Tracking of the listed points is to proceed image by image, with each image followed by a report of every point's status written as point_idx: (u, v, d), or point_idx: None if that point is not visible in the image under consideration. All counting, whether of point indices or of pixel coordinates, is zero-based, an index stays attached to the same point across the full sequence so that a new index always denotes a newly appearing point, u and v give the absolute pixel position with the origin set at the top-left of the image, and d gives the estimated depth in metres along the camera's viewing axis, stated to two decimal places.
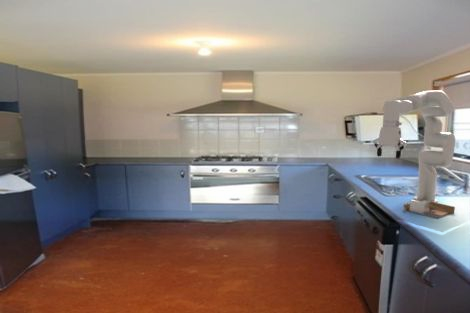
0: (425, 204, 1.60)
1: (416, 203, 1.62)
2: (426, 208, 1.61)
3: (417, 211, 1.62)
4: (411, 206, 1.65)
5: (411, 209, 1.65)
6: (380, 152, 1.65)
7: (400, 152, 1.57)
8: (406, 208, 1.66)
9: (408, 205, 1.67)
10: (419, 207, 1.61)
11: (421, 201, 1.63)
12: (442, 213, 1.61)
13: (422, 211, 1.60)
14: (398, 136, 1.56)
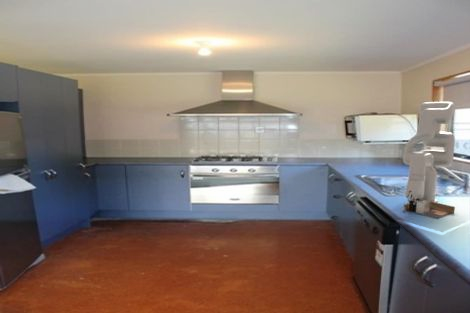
0: (425, 204, 1.60)
1: (416, 203, 1.62)
2: (426, 208, 1.61)
3: (417, 211, 1.62)
4: None
5: None
6: None
7: None
8: (406, 208, 1.66)
9: (408, 205, 1.67)
10: (419, 207, 1.61)
11: (421, 201, 1.63)
12: (442, 213, 1.61)
13: (422, 211, 1.60)
14: None
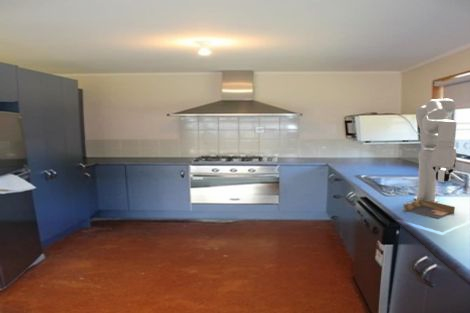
0: None
1: None
2: None
3: None
4: None
5: None
6: None
7: (436, 173, 1.60)
8: (406, 208, 1.66)
9: (408, 205, 1.67)
10: None
11: (443, 168, 1.60)
12: (442, 213, 1.61)
13: (450, 177, 1.60)
14: None
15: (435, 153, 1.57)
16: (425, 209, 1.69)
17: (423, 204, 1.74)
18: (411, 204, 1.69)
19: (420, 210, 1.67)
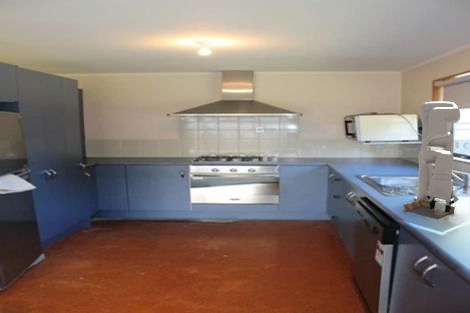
0: None
1: (444, 204, 1.60)
2: None
3: (444, 211, 1.61)
4: (441, 209, 1.59)
5: (441, 212, 1.59)
6: None
7: (430, 202, 1.64)
8: (406, 208, 1.66)
9: (408, 205, 1.67)
10: None
11: (440, 201, 1.62)
12: None
13: None
14: None
15: (433, 184, 1.60)
16: (425, 209, 1.69)
17: (423, 204, 1.74)
18: (411, 204, 1.69)
19: (420, 210, 1.67)
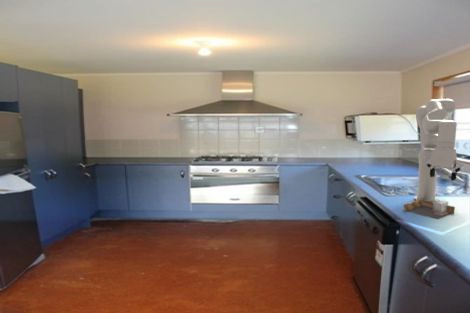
0: None
1: (444, 204, 1.60)
2: None
3: (444, 211, 1.61)
4: (441, 209, 1.59)
5: (441, 212, 1.59)
6: None
7: None
8: (406, 208, 1.66)
9: (408, 205, 1.67)
10: (445, 207, 1.61)
11: (440, 201, 1.62)
12: None
13: None
14: None
15: (436, 153, 1.57)
16: (425, 209, 1.69)
17: (423, 204, 1.74)
18: (411, 204, 1.69)
19: (420, 210, 1.67)
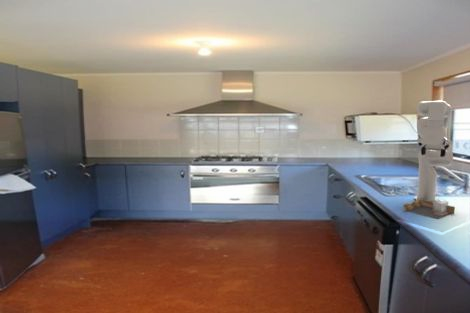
0: None
1: (444, 204, 1.60)
2: None
3: (444, 211, 1.61)
4: (441, 209, 1.59)
5: (441, 212, 1.59)
6: None
7: None
8: (406, 208, 1.66)
9: (408, 205, 1.67)
10: (445, 207, 1.61)
11: (440, 201, 1.62)
12: None
13: None
14: None
15: (426, 132, 1.68)
16: (425, 209, 1.69)
17: (423, 204, 1.74)
18: (411, 204, 1.69)
19: (420, 210, 1.67)
